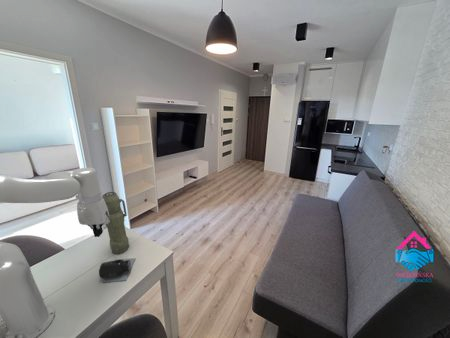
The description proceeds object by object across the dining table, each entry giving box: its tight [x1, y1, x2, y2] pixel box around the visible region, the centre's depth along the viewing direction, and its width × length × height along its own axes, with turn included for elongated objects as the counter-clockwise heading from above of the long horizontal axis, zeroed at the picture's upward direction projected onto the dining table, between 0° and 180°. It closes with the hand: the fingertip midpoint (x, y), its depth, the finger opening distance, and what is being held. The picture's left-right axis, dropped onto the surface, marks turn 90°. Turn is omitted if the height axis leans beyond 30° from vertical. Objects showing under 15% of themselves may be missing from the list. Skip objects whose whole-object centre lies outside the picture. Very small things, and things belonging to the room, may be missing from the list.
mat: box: [102, 257, 136, 284], centre depth 90 cm, size 13×10×1 cm
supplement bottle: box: [98, 258, 132, 279], centre depth 87 cm, size 7×7×12 cm
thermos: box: [101, 191, 130, 256], centre depth 98 cm, size 9×12×35 cm
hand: (98, 234), depth 80 cm, fingers closed
